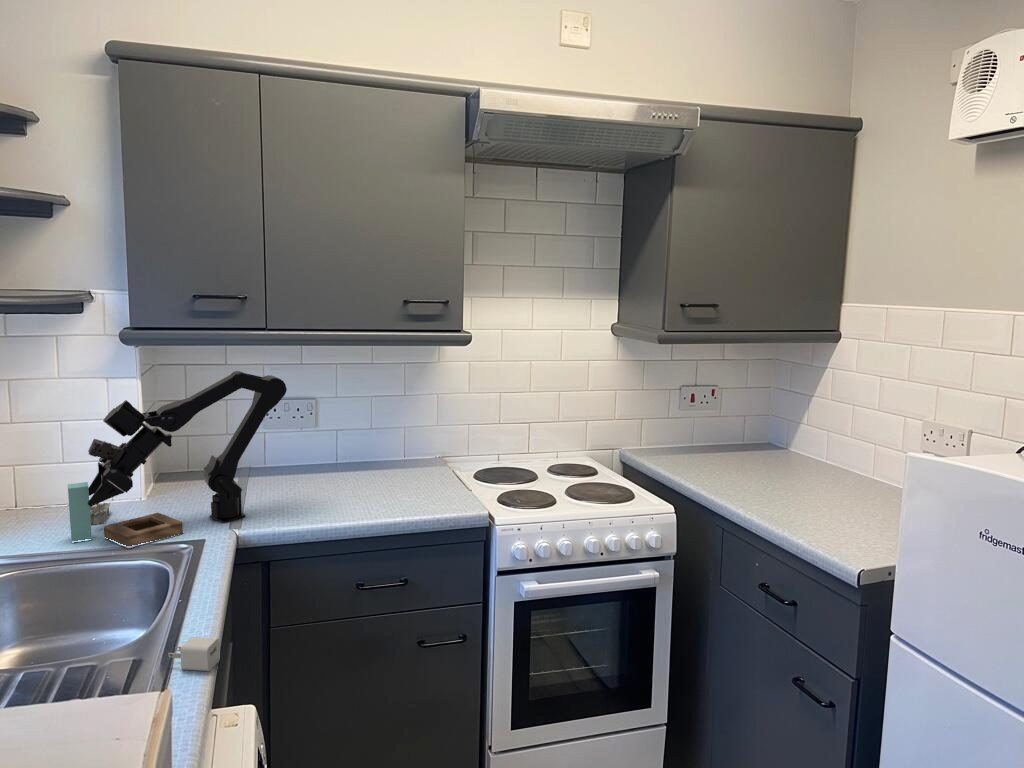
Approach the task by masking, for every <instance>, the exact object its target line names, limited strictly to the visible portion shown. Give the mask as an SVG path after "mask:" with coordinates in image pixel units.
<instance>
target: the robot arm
mask: <svg viewBox="0 0 1024 768" xmlns="http://www.w3.org/2000/svg"><path fill="white" fill-rule="evenodd" d="M240 389H245V390H248V391H252V392H253V397H252V402H251V405H250V407H249V408H248V410H247V412H246V413H245V415H244V417H243V419H242V420H241V422H240V423H239V425H238V427H237V428H236V430H235V432H234V434H233V435H232V437H231V438H230V439H229V441H228V442H227V443H228V444H226V447H225V449H224V450H223V452H222V453H220V454H219V456H217V457H216V456H214V455H211V456H210V458H209V460H208V463H207V465H205V466H204V467H203V468H202V469H203V471H204V473H203V480H204V482H205V483H206V485H207V486H208V487H209V489H210V490H211V491H212V492H214V493H215V494H213V495H211V496H212V497H211V500H212V501H211V502H210V512H211V514H210V515H209V518H210V519H212V520H215V521H218V522H220V523H228V522H231V521H236V520H238V519H242V518H245V517H246V514H245V513H243V510H242V507H243V506H242V491H243V488H242V487H241V486H240V485H239V484H238V483H237V482H236V480H234V479H235V477H236V474H237V469H238V466H239V462H240V459H241V458H242V456H243V454H244V453H245V451H246V450H247V448H248V446H249V444H250V442H251V441H252V439H253V438H254V436H255V434H256V433H257V430H258V429H259V428H260V426H261V425H262V422H263V421H264V419H265V417H266V416H267V414H268V413H269V412H270V411H271V410H272V409H273V408H274V407H276V406H277V405H278V404H279V403H280V401H281V400H282V399H283V398H284V397H285V396H286V393H287V391H288V389H287V386H286V383H285V381H283V380H282V378H278V377H277V376H273V375H272V374H271V375H269V374H268V375H264V376H259V375H255V374H251V373H250V374H249V373H247V372H243V371H241V370H235V371H232V372H231V373H230V374H229V375H228V376H226V377H224V378H222V379H220V380H219V381H218V380H217V382H215V383H213V384H211V385H209V386H208V387H205V388H204V389H202V390H200V391H198V392H196V393H194V394H193V395H191V396H189V397H186V398H184V399H183V398H182V399H179V400H176V401H171V402H170V403H167V404H164V405H161V406H159V408H158V409H157V410H152V411H147V412H140V411H139V410H138V409H137V408H136V407H134V406H133V405H132V403H130V401H128V400H127V399H125V400H124V401H123V402H122V403H120V404H119V405H117V406H116V407H114V408H112V409H111V411H109V412H108V413H107V415H106V416H105V417H104V419H103V420H102V422H103V423H105V424H106V425H108V426H109V427H110V428H112V429H113V430H114V431H115V432H116V433H117V434H119V435H121V436H122V437H126V436H128V437H131V438H130V440H128V441H127V442H121V444H120V445H119V446H118V445H115V444H112V442H106V441H104V440H99V439H97V438H93V440H92V442H91V444H90V446H89V448H88V450H87V452H88V455H89V456H92V457H96V458H99V459H98V462H97V467H98V468H97V471H98V472H97V473H96V475H95V477H94V478H93V479H92V481H91V483H90V485H88V488H89V497H90V496H91V497H90V498H89V502H88V503H87V504H88V505H89V506H97V505H96V504H98V503H99V504H101V503H104V502H105V501H107V500H110V499H112V498H114V497H117V496H119V495H121V494H122V495H123V494H125V493H128V492H129V491H130V490H131V489H132V488H133V486H134V482H133V478H132V477H133V476H134V472H136V470H137V469H138V468H139V467H140V466H141V465H145V464H146V463H147V459H148V458H149V457H150V456H151V455H152V454H153V453H154V452H155V451H156V450H157V449H158V448H159V447H160V446H161V445H162V444H163V443H164V444H165V445H166V446H167V447H169V448H171V447H172V446H173V444H172V438H173V436H172V434H171V433H174V432H176V431H178V430H180V429H181V428H182V427H184V426H185V425H186V424H187V423H189V422H191V420H192V419H193V418H194V417H195V416H196V415H197V414H198V413H199V412H201V411H203V410H205V409H207V408H208V407H210V406H212V405H213V404H215V403H218V402H219V401H221V400H222V399H224V398H226V397H228V396H230V395H232V394H233V393H235V392H236V391H238V390H240ZM144 422H145V423H144ZM147 424H148V425H149V426H148V425H147ZM141 427H142V428H141ZM151 427H154V428H151ZM159 428H160V429H161V430H160V429H159ZM162 430H163V431H165V432H169V433H165V432H163V431H162ZM132 436H133V437H132Z"/></svg>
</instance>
